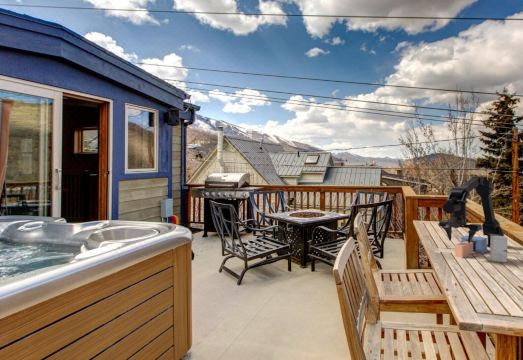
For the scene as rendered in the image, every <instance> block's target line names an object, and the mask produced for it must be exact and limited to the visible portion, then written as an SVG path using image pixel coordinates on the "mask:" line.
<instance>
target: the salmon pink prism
mask: <svg viewBox="0 0 523 360" xmlns="http://www.w3.org/2000/svg"><path fill="white" fill-rule="evenodd" d="M473 254H474V250H473V242H470V243H468V242H467V241H465V242H463V243H461V242H460V243H457V244H455V245H454V256H455V257H456V258H460V257H461V259H462V258H463V259H464V258H466V257H469V256H471V255H473Z"/></svg>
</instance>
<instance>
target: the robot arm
mask: <svg viewBox="0 0 523 360" xmlns="http://www.w3.org/2000/svg"><path fill="white" fill-rule="evenodd" d="M494 189H495V184H494V183H493V182H492V181H491V180H489V179H486V178H484V177H483V176H471V178H470V179H469V180H467V181H465V182H464V183H463V184H462V185H458V186H455V187H452V188H451V190H450V192H449V194H448V196H447V199H446V202H445V203H444V204H443V206H442V211H443V212H444V213H445V214H447V215H448V214H449V215H450V214H451V217H450V218H449V219H448V220H447V219H446V220H445V219H443V220H440V221H439V222H438V227H440V228H441V229H443V230H444V231H445V234H446V235H447V238H448V240H449V241H452V232H453V229H452V228H454V229H458V228H463V229H468V230H467V232H468V236H469V237H468V243H470V242H471V240H472V238H473V236H475V235H476V233H477V232H478V233H479V231H482V233H483V236H487V237H486V238H487V248H490V236H491V235H492V236H505V232H504V230H503V228H502V227H501V224H500V221H498V220H497V219H496V215H495V211H494V205H493V200H492V199H493V198H492V194H493V193H494ZM473 190H475V193H476V194H477V195H478V196H479V198H480V200H481V205H482V211H483V218H484V221H483V223H482V224H481V223H469V224H468V221H467V216H468V213H467V203H468V202H469V201H468V200H467V198H469V196H470V195H471V194H470V193H471V192H472V191H473Z"/></svg>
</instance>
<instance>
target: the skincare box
mask: <svg viewBox="0 0 523 360" xmlns="http://www.w3.org/2000/svg"><path fill="white" fill-rule="evenodd" d="M489 260H490V261H492V262H502V263H507V262H508V237H507V236H505V235H504V236H492V235H491V236H490V247H489Z"/></svg>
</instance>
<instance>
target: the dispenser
mask: <svg viewBox="0 0 523 360" xmlns="http://www.w3.org/2000/svg"><path fill="white" fill-rule="evenodd" d="M468 237H469V234H466V235H464V236H461V238H460V239H461V240H460V243H463V242H465V241H467V242H468ZM471 242H473V251H475V254H479V255H483V254H485V253H487V251H488V247H487V237H481V236H475V235H474V236H473V238H472V240H471Z"/></svg>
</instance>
